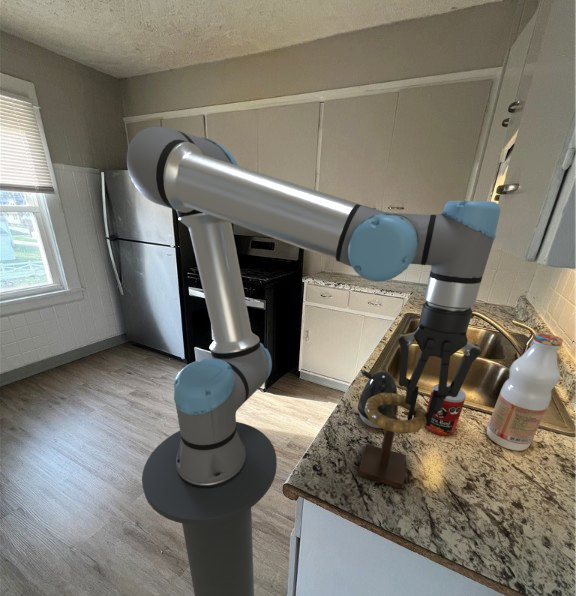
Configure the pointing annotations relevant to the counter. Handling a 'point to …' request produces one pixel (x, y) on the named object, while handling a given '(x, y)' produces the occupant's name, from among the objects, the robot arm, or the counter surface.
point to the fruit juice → (526, 394)
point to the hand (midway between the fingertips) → (418, 419)
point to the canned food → (446, 413)
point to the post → (384, 462)
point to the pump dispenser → (374, 386)
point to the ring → (393, 424)
